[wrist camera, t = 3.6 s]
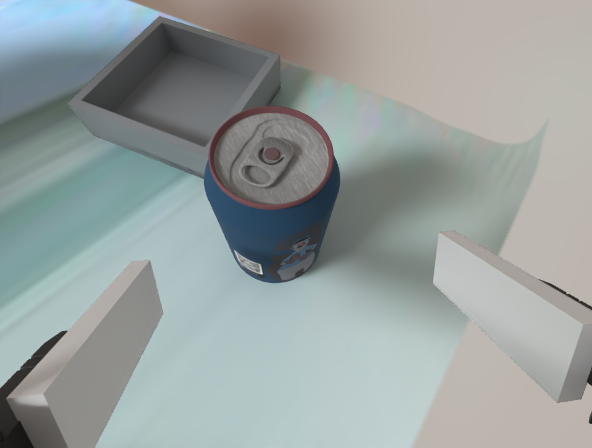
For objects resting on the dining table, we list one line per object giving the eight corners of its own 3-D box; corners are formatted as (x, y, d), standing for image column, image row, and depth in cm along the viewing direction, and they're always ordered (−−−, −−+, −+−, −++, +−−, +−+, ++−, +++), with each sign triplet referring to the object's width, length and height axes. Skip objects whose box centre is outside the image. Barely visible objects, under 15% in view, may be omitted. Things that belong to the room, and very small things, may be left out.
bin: (92, 134, 28) (66, 103, 25) (172, 51, 34) (159, 16, 30) (218, 184, 27) (208, 158, 23) (280, 87, 32) (279, 54, 29)
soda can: (263, 195, 26) (249, 78, 15) (332, 231, 25) (371, 131, 14) (216, 260, 24) (160, 172, 13) (292, 303, 22) (301, 249, 12)
